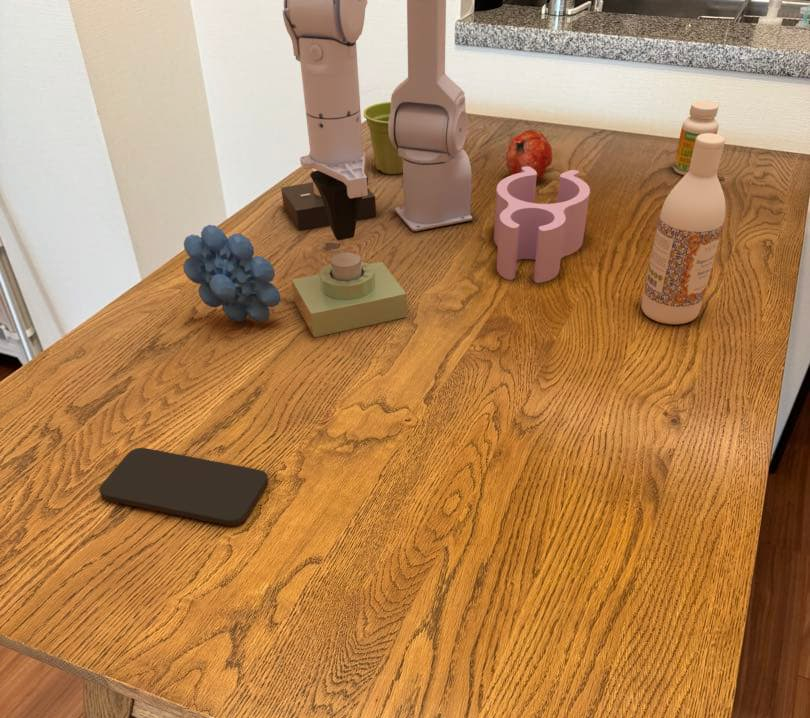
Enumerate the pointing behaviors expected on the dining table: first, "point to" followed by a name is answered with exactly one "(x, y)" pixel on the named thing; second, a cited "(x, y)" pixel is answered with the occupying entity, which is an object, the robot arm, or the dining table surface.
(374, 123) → the plant pot
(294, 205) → the dial panel
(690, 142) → the supplement bottle
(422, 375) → the dining table surface
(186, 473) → the phone
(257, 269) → the grapes
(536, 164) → the pomegranate
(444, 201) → the robot arm
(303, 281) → the green button base
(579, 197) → the clip
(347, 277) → the pink push button
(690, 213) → the bath foam
